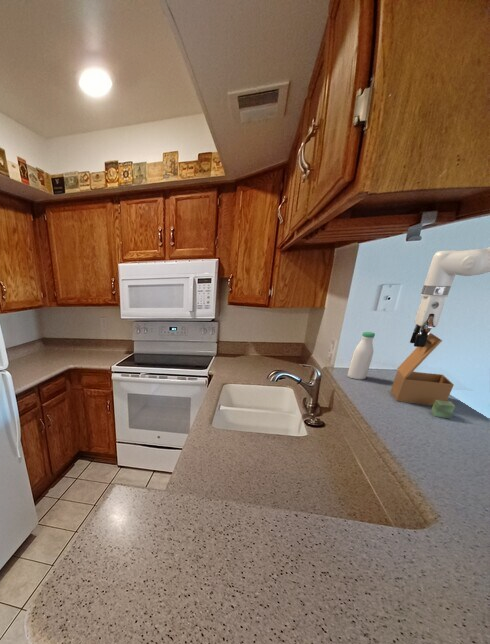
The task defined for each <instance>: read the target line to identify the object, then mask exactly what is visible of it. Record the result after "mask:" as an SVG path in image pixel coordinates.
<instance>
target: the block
mask: <svg viewBox="0 0 490 644" xmlns="http://www.w3.org/2000/svg"><path fill="white" fill-rule="evenodd" d="M455 408H456V405H455V404H454V403H453V402H452V401H451V400H447V401H442V400H435V402H434V405H432V407H431V409H430V412H431V413H432V415H433V416H434V417H438V418H447V419H451V418H452V415H453V413H454V410H455Z"/></svg>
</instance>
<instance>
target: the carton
mask: <svg viewBox="0 0 490 644" xmlns="http://www.w3.org/2000/svg"><path fill="white" fill-rule="evenodd" d="M453 388H454V383H453V382H451V381H450V379H448V377H447V376H445V375H444V374H441V373H428V372H420V371H419V372H418V371H413V372H412V373H411V374H410V375H409V376H408V377H407V378H406V379H405V378H404V377H403V376H402V375H401V373H400V372H399V371H398V370H396V374H395V376H394V380H393V382H392V385H391V388H390V392H391V393H392V396H393V397H394V399H395V400H396V402H402V403H410V404H411V403H412V404H420V405H426V406H433V405H434V402H435V400H442V401H448V399H449V398H450V394H451V392H452V390H453Z"/></svg>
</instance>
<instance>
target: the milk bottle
mask: <svg viewBox="0 0 490 644" xmlns="http://www.w3.org/2000/svg"><path fill="white" fill-rule="evenodd" d="M361 335H362V336H361V340H360V341H359V343H358V344H357V345H356V347H355V348H354V350H353V354H352V357H351V360H350V365H349V367H348V371H347V377H348V378H350V379H354V380H365V379H366V378H367V376H368V373H369V370H370V366H371V362H372V359H373V355H374V344H373V340H374V339H375V336H376V333H375V332H373V331H363V333H362V334H361Z"/></svg>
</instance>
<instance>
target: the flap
mask: <svg viewBox="0 0 490 644" xmlns="http://www.w3.org/2000/svg"><path fill="white" fill-rule="evenodd" d="M417 335H419V334H417ZM417 335H416V337H417ZM442 342H443V340H442V339H440V338H439V337H438V336H436V335H435V334H433V333H432V332H429V335H428V338H427V341H426V344H425V346H424V347H415V348H414V349H413V351H411V352H410V354H409V355H408V356H407V357H406V358H405V360H404V361H403V362H402V363H400V365H399V366H398V367H397V368H396V370H397V371H399V372H400V373H401V375H402V376H403V377H404V378H405V379H406V378H407V377H408V376H409V375H410V374H411V373H412V372H415V370H416V369H417V368H418V367H420V365H421V363H423V361H425V359H426V358H427V357H429V355H430V354H432V352H433V351H434V350H435V349H437V347H438V346H439V345H440V344H441V343H442Z"/></svg>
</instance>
